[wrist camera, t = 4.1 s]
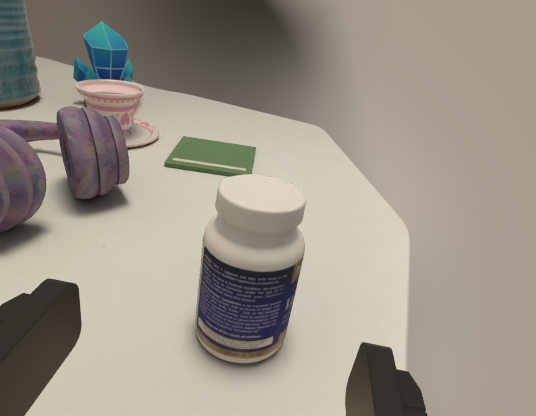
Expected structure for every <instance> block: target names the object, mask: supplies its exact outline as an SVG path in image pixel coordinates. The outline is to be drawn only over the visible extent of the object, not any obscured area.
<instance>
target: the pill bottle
mask: <svg viewBox="0 0 536 416" xmlns="http://www.w3.org/2000/svg"><path fill="white" fill-rule="evenodd" d="M305 204H306V198H305V195H304V193H303V192H302V191H301V190H300V189H299V188H297V187H296V186H294V185H293V184H291V183H288V182H286V181H284V180H280V179H277V178H274V177H269V176H264V175H253V174H244V175H236V176H231V177H228V178H226V179H224V180H223V181H221V183H220V184H219V186H218V192H217V198H216V204H215V206H216V210H217V212H218V214H217V215H215V216H214V217H213V218H212V219H211V220H210V221H209V223H208V224H207V226H206V229H205V232H204V237H203V248H202V259H201V269H200V279H199V289H198V299H197V308H196V321H195V328H196V333H197V336H198V339H199V341H200V342H201V344H202V345H203V346H204V347H205V348H206V349H207V350H208V351H209V352H210V353H212V354H213V355H215V356H217V357H218V358H221V359H223V360H226V361H230V362H234V363H252V362H257V361H261V360H263V359H266V358H268V357H269V356H271V355H272V354H274V353H275V352H276V351H277V350H278V349H279V348H280V346H281V344H282V343H283V340H284V338H285V334H286V330H287V326H288V322H289V318H290V313H291V309H292V305H293V300H294V296H295V291H296V287H297V283H298V278H299V274H300V270H301V265H302V261H303V256H304V250H305V242H304V237H303V235H302V233H301V231H300V229H299V228H298V227H297V226H298V225H299V224H300V223H301V221H302V219H303V214H304V210H305Z"/></svg>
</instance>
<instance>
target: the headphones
mask: <svg viewBox="0 0 536 416" xmlns="http://www.w3.org/2000/svg"><path fill="white" fill-rule="evenodd" d="M53 139H59V141H60V147H61V152H62V157H63V161H64V166H65V170H66V174H67V177H68V181H69V184H70V187H71V190H72V192H73V194H74V196H75V197H76V198H79V199H90V198H93V197H95V196H96V195H105V194H108V192H109V191H110V190H111V189H112V188H113V187H114V185H115V184H123V183H126V181H127V180H128V178H129V157H128V151H127V145H126V141H125V137H124V133H123V130H122V127H121V125H120V123H119V121H118V119H117V118H116V117H114V116H113V115H107V116H102V115H101V114H99V113H98V112H97V111H95V110H94V109H92V108H91V107H84V108H81V109H79V108H77V107H64V108H62V109H60V110H59V111H58V112H57V123H51V122H40V121H25V120H0V232H3V231H5V230H8V229H10V228H12V227H13V226H15V225H18V224H20V223H22V222H24V221H26V220H27V219H29V218H30V217H32V216H33V215H34V214H35V213H36V212H37V210H38V209H39V207H40V206H41V204H42V202H43V199H44V196H45V192H46V176H45V172H44V168H43V165H42V163H41V161H40V159H39V157H38V155H37V154H36V152H35V151H34V150H33V148H32V147H31V146H30V145H29V144H28V143H27V142H30V141H39V140H53Z"/></svg>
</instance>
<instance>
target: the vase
mask: <svg viewBox="0 0 536 416" xmlns="http://www.w3.org/2000/svg"><path fill="white" fill-rule="evenodd" d="M25 7H26V5H25V2H24V0H0V109H2V108H9V107H15V106H19V105H23V104H25V103H28V102H29V101H31V100H32V99H34V98H35V97H37V96H38V95H39V93H40V83H39V80H38V77H37V73H38V71H37V67H36V64H35V59H36V58H35V54H34V52H33V42H32V41H31V32H30V30H29V24H28V17H27V10H26V8H25Z"/></svg>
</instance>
